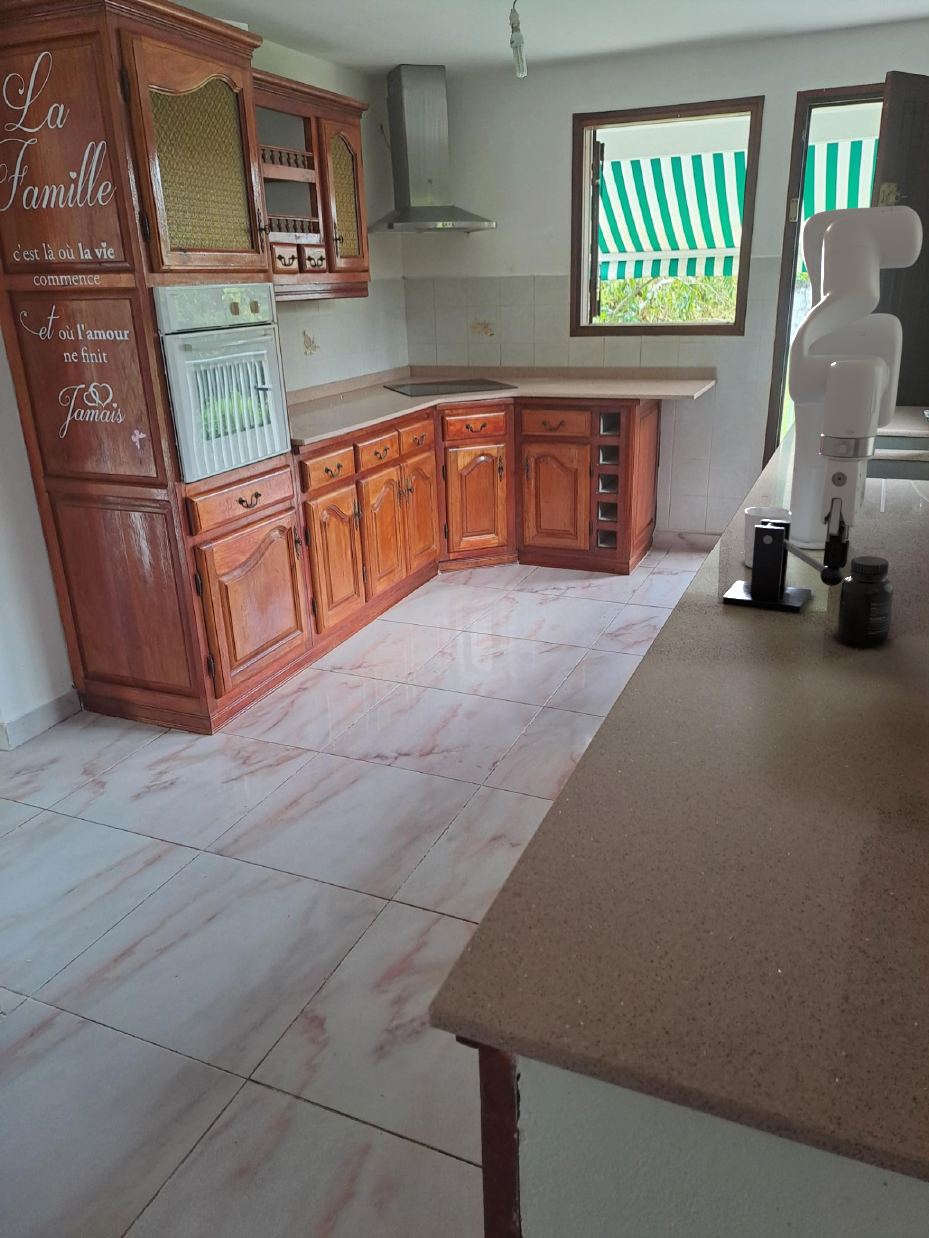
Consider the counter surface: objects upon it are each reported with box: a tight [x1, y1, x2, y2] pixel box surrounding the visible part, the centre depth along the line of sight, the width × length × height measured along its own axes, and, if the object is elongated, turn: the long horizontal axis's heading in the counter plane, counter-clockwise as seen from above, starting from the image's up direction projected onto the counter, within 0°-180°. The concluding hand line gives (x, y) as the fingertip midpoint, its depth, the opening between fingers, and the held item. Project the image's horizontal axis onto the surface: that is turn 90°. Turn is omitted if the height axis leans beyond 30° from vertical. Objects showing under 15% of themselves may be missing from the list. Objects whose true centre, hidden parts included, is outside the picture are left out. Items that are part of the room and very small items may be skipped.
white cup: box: [743, 506, 791, 569], centre depth 160 cm, size 8×8×10 cm
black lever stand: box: [722, 519, 812, 615], centre depth 142 cm, size 12×9×13 cm
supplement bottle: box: [836, 555, 895, 649], centre depth 125 cm, size 7×7×12 cm
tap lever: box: [768, 523, 845, 587], centre depth 139 cm, size 14×3×3 cm, turn 59°
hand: (834, 565), depth 137 cm, fingers closed
